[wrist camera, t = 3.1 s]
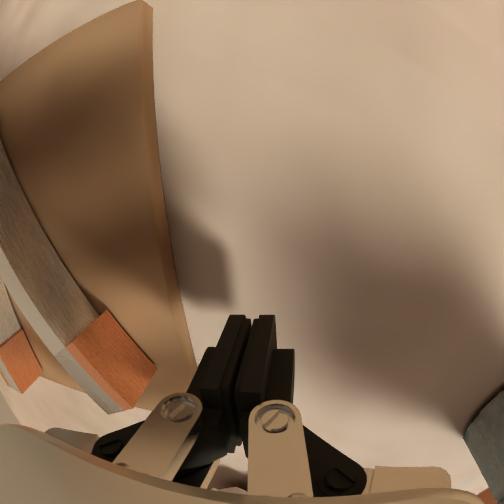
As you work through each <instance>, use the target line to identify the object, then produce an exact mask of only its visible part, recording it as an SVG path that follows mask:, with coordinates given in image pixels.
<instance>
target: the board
mask: <svg viewBox="0 0 504 504" xmlns="http://www.w3.org/2000/svg"><path fill="white" fill-rule="evenodd" d="M152 17H153V8H152V7H151V6H149V5H148V4H147V3H146V2H144V1H143V0H136V1H134V2H131V3H129V4H126V5H124V6H122V7H119V8H117V9H115V10H113V11H111V12H108V13H106V14H104V15H102V16H100V17H98V18H96V19H94V20H92V21H90V22H88V23H86V24H84V25H83V26H81V27H79V28H77V29H75V30H74V31H72V32H70V33H68V34H67V35H65V36H63V37H62V38H60V39H58V40H57V41H55V42H54V43H52V44H51V45H49V46H48V47H46V48H44V49H43V50H42V51H40V52H39V53H37V54H36V55H34V56H33V57H32V58H30V59H29V60H27V61H26V62H25V63H23V64H22V65H21V66H20V67H18V68H17V69H16V70H14V71H13V72H12V73H11V74H9V75H8V76H7V77H6V78H5V79H3V80H2V81H1V82H0V139H1V142H2V145H3V147H4V150H5V152H6V155H7V157H8V160H9V162H10V165H11V167H12V169H13V172H14V174H15V176H16V179H17V181H18V183H19V185H20V187H21V189H22V191H23V194H24V196H25V198H26V200H27V202H28V204H29V206H30V208H31V209H32V211H33V213H34V215H35V217H36V219H37V221H38V223H39V224H40V226H41V228H42V230H43V232H44V233H45V235H46V237H47V238H48V240H49V242H50V244H51V245H52V247H53V249H54V250H55V252H56V253H57V255H58V257H59V258H60V260H61V261H62V263H63V265H64V266H65V268H66V269H67V271H68V272H69V274H70V275H71V277H72V278H73V280H74V281H75V283H76V284H77V285H78V287H79V288H80V290H81V291H82V292H83V294H84V295H85V297H86V298H87V299H88V301H89V302H90V303H91V305H92V306H93V307H94V309H95V310H96V311H97V313H98V314H99V315H100V314H102V313H103V312H104V311H106V310H108V311H109V312H110V314H111V315H112V316H113V318H114V319H115V320H116V321H117V323H118V324H119V325H120V326H121V327H122V329H123V330H124V331H125V332H126V334H127V335H128V336H129V337H130V338H131V339H132V341H133V342H134V343H135V344H136V345H137V346H138V348H139V349H140V350H141V351H142V352H143V353H144V354H145V355H146V357H147V358H148V359H149V360H150V361H151V362H152V363H153V364H154V365H155V366H156V367H157V371H156V372H155V374H154V375H153V377H152V379H151V380H150V382H149V383H148V385H147V387H146V388H145V390H144V391H143V393H142V395H141V396H140V398H139V400H138V401H137V403H136V404H135V406H134V407H137V408H141V409H146V410H150V411H153V410H154V408H155V407H156V406H157V405H158V403H159V402H160V401H161V400H162V399H163V398H165V397H167V396H168V395H171V394H174V393H182V392H183V393H186V392H187V390H188V388H189V385H190V383H191V381H192V379H193V377H194V375H195V373H196V370H197V364H196V361H195V357H194V353H193V349H192V344H191V340H190V336H189V332H188V327H187V323H186V319H185V314H184V309H183V305H182V300H181V295H180V290H179V285H178V280H177V275H176V270H175V264H174V259H173V253H172V247H171V241H170V235H169V229H168V222H167V216H166V209H165V202H164V194H163V187H162V179H161V170H160V161H159V151H158V141H157V130H156V117H155V102H154V84H153V52H152ZM4 285H5V284H4ZM5 288H6V291H7V294H8V297H9V299H10V302H11V305H12V308H13V310H14V313H15V315H16V318H17V320H18V323H19V325H20V327H21V329H22V330H23V332H24V334H25V336H26V338H27V340H28V343H29V345H30V347H31V349H32V351H33V353H34V355H35V357H36V359H37V361H38V363H39V365H40V367H41V369H42V370H43V373H42V374H41V375H40V376H41V377H44V378H46V379H49V380H51V381H54V382H56V383H59V384H61V385H64V386H67V387H70V388H72V389H75V390H78V391H81V392H84V393H86V392H85V391H84V390H83V389H82V388H81V387H80V386H79V385H78V384H77V382H76V381H75V380H74V379H73V378H72V377H71V376H70V375H69V373H68V372H67V371H66V370H65V369H64V368H63V366H62V365H61V364H60V363H59V362H58V360H57V359H56V358H55V357H54V356H53V354H52V353H51V352H50V351H49V349H48V348H47V347H46V345H45V344H44V343H43V341H42V340H41V339H40V337H39V336H38V335H37V333H36V332H35V330H34V329H33V328H32V326H31V325H30V323H29V322H28V320H27V319H26V317H25V316H24V314H23V313H22V311H21V310H20V308H19V307H18V305H17V304H16V302H15V300H14V299H13V297H12V296H11V294H10V292H9V291H8V289H7V287H6V285H5Z"/></svg>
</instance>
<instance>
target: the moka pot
mask: <svg viewBox="0 0 504 504" xmlns="http://www.w3.org/2000/svg"><path fill="white" fill-rule="evenodd" d="M463 439H464V441H465V443H466V445H467V446H468V448H469V450H470V452H471V454H472V456H473V457H474V459H475V461H476V463H477V465H478V467H479V469H480V471H481V473H482V475H483V477H484V478H485V480H486V482H487V484H488V486H489V488H490V490H491V493H492V495H493V497H494V499H496V500H497V501H498V503H497V504H504V390H502V391H501V392H499V393H498V394H497V396H495V397H494V398H493V399H492V400H491V401H490V402H489V403H488V404H487V405H486V406H485V407H484V408H483V409H482V410H481V411H480V413H479V414H478V415H477V416H476V418H475V419H474V420H473V421H472V422H471V424H470V425H469V427H468V428H467V430H466V432H465V435H464V437H463Z"/></svg>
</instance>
